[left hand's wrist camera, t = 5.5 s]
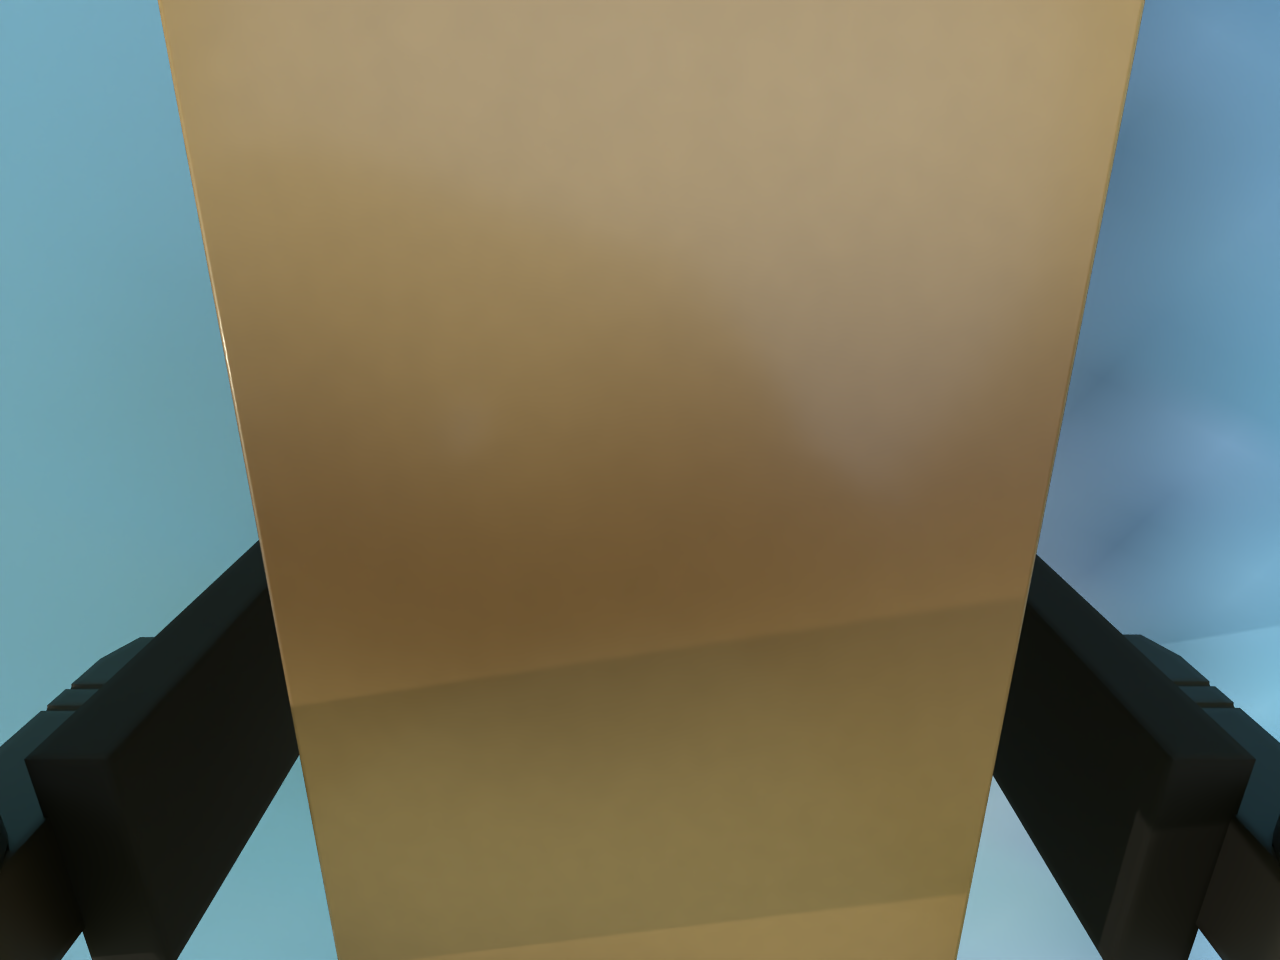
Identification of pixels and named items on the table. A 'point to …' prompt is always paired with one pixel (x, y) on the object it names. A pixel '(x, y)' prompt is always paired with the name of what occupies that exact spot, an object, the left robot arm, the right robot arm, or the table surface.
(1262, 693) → the table surface
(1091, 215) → the bar
